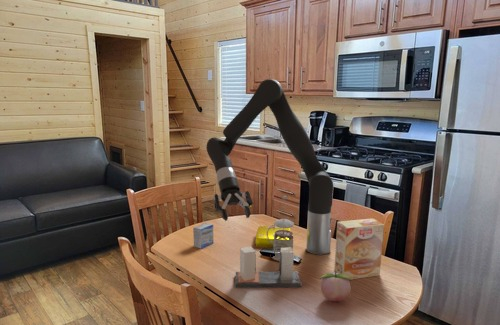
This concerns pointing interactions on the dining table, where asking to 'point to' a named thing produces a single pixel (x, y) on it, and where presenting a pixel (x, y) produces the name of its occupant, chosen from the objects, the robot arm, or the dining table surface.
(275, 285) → the grey stand
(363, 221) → the coffeecake box
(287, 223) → the french press
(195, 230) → the medicine box
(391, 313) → the dining table surface
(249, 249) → the block
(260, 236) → the element tile
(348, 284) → the decorative fruit
